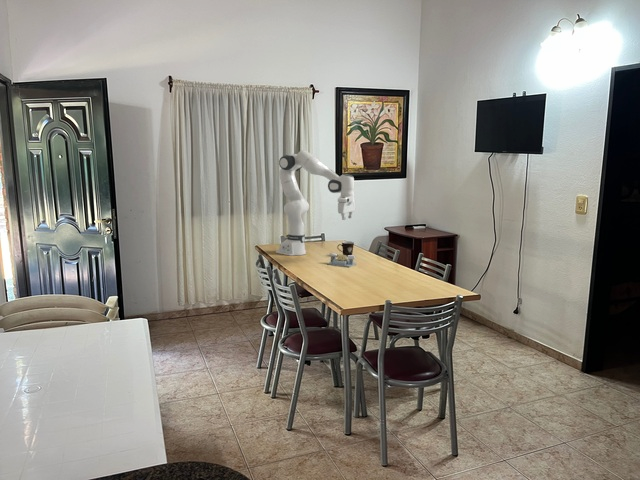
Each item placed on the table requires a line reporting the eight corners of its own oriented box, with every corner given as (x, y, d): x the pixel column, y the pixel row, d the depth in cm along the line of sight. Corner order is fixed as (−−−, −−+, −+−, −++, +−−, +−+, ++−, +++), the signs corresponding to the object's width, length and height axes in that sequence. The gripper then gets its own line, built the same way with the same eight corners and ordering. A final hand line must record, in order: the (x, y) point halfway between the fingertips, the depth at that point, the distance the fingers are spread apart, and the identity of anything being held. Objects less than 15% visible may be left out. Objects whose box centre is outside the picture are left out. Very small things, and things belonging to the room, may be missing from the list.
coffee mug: (353, 254, 361) (354, 241, 360) (353, 257, 353) (353, 243, 351) (337, 254, 363) (338, 240, 361) (337, 256, 354) (337, 243, 352)
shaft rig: (326, 264, 330) (326, 254, 329) (333, 261, 340) (334, 251, 338) (350, 267, 321) (351, 257, 320) (357, 264, 331) (358, 254, 330)
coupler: (337, 263, 330) (337, 255, 329) (340, 261, 333) (340, 254, 333) (343, 263, 327) (343, 256, 327) (346, 262, 331) (346, 255, 330)
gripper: (349, 197, 343) (349, 217, 345) (336, 199, 325) (335, 220, 328) (358, 197, 340) (357, 217, 343) (344, 200, 322) (344, 221, 325)
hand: (346, 219), depth 335 cm, fingers open, 8 cm apart
